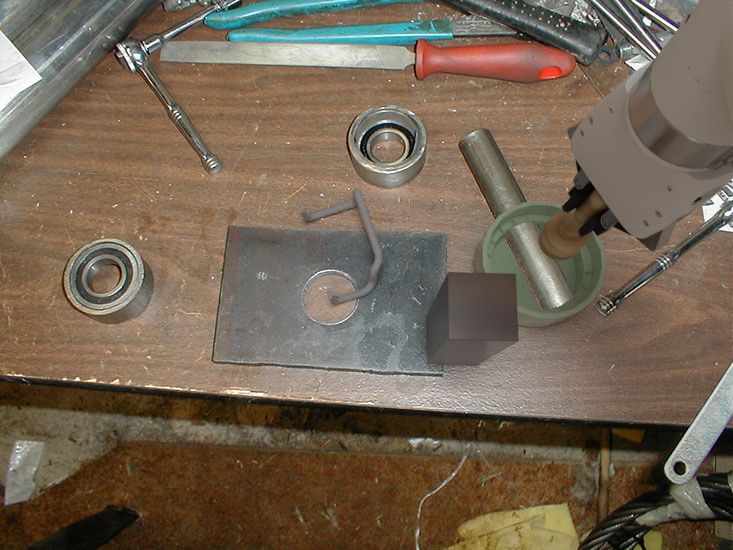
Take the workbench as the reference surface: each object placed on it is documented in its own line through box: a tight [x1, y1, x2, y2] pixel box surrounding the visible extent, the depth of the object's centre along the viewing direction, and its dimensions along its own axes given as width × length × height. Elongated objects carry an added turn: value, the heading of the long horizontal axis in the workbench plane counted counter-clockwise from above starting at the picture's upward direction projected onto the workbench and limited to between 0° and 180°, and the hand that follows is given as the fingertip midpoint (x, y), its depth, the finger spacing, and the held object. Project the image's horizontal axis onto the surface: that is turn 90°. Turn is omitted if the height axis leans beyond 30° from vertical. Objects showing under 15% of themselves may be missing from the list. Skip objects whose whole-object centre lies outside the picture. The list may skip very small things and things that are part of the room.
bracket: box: [299, 188, 384, 304], centre depth 68 cm, size 13×8×5 cm, turn 18°
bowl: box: [473, 200, 608, 328], centre depth 67 cm, size 14×14×6 cm
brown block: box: [426, 271, 519, 367], centre depth 58 cm, size 6×6×20 cm
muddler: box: [538, 188, 609, 260], centre depth 52 cm, size 4×4×13 cm
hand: (584, 214), depth 51 cm, fingers closed on muddler, 2 cm apart
